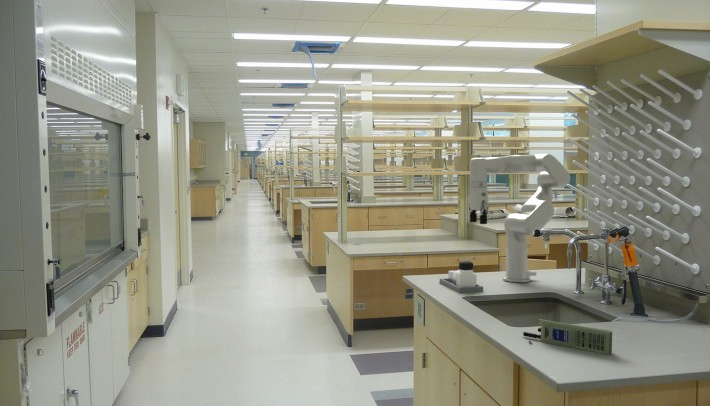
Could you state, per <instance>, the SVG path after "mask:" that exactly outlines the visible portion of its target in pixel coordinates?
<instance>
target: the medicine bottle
mask: <svg viewBox="0 0 710 406" xmlns="http://www.w3.org/2000/svg"><path fill="white" fill-rule="evenodd" d="M458 270H459V271H457V272H456V286H458V287H460V288H462V287H476V284H477V274H476V273H475V272H474V262H472V261H469V260H468V261H467V260H464V261H463V260H461V261H460V262H459V263H458Z"/></svg>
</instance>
